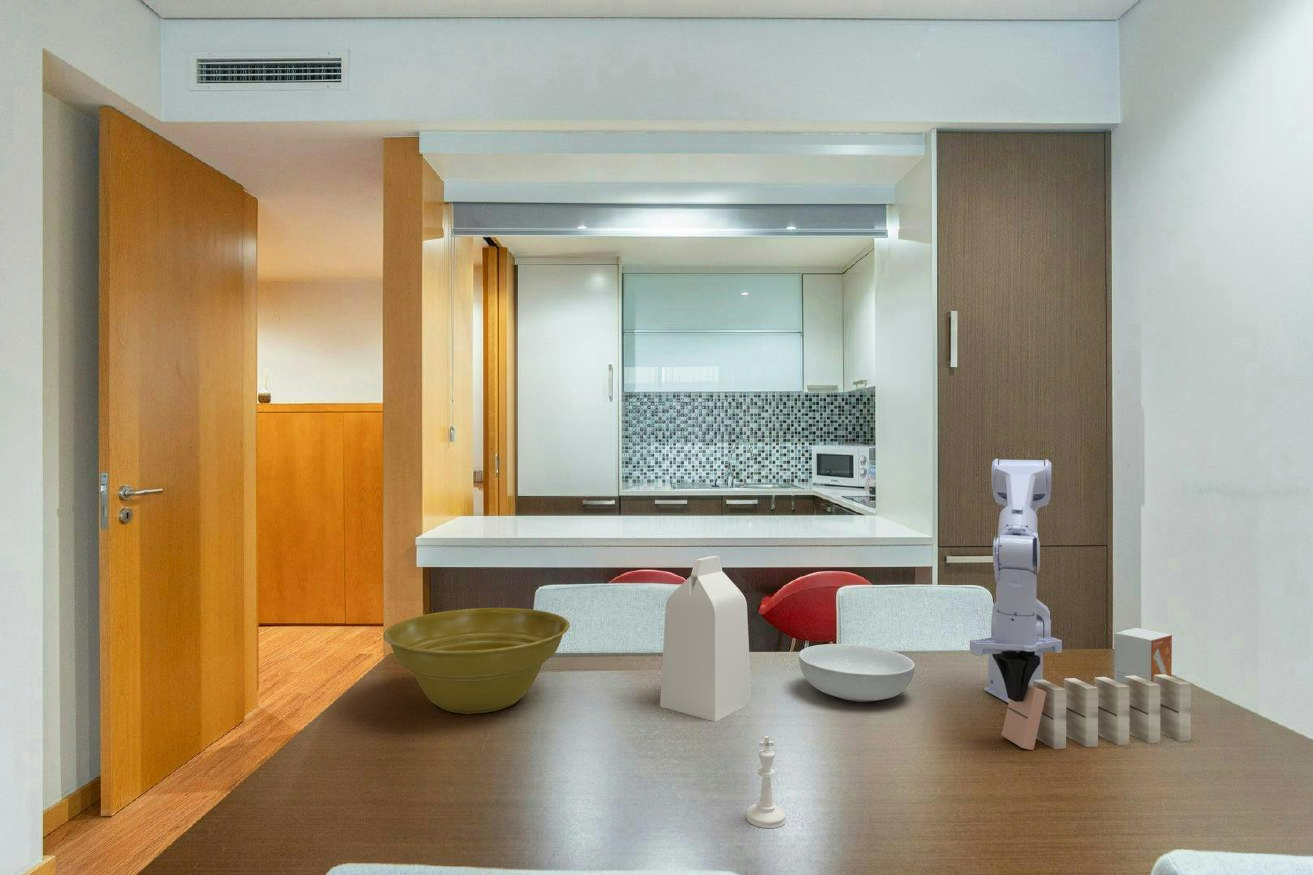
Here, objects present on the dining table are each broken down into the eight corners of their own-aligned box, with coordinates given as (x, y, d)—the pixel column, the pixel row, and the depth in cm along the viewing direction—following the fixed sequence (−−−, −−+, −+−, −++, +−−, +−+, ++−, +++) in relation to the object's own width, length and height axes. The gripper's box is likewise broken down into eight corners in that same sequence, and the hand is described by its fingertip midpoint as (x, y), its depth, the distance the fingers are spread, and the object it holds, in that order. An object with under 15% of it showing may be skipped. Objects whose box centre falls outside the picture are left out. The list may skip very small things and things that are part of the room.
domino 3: (1094, 732, 122) (1094, 677, 122) (1105, 732, 122) (1105, 676, 122) (1117, 745, 117) (1117, 687, 117) (1129, 744, 117) (1129, 686, 117)
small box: (1151, 715, 130) (1151, 639, 130) (1112, 704, 135) (1113, 632, 136) (1172, 706, 135) (1172, 634, 135) (1134, 696, 140) (1134, 626, 140)
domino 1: (1032, 736, 120) (1032, 679, 120) (1044, 735, 120) (1044, 679, 120) (1054, 748, 115) (1054, 690, 115) (1066, 748, 115) (1066, 689, 115)
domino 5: (1153, 729, 123) (1153, 674, 124) (1164, 728, 124) (1164, 674, 124) (1179, 741, 118) (1179, 684, 119) (1190, 740, 119) (1190, 683, 119)
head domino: (1001, 735, 119) (1014, 679, 119) (1012, 737, 119) (1025, 681, 120) (1021, 747, 114) (1034, 689, 114) (1033, 750, 114) (1046, 692, 115)
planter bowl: (341, 724, 122) (342, 641, 122) (443, 668, 153) (443, 602, 153) (525, 745, 114) (526, 656, 114) (592, 681, 145) (593, 612, 146)
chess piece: (742, 809, 95) (743, 729, 95) (780, 808, 95) (781, 728, 95) (750, 828, 90) (751, 745, 90) (790, 827, 90) (791, 744, 90)
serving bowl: (931, 715, 129) (931, 675, 129) (809, 712, 130) (809, 672, 130) (895, 678, 150) (895, 643, 150) (790, 676, 150) (790, 641, 151)
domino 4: (1124, 731, 123) (1124, 676, 123) (1135, 730, 123) (1135, 675, 123) (1148, 743, 118) (1149, 685, 118) (1160, 742, 118) (1160, 685, 118)
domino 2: (1063, 734, 121) (1063, 678, 121) (1074, 734, 121) (1075, 678, 121) (1086, 747, 116) (1086, 688, 116) (1097, 746, 116) (1098, 688, 116)
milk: (715, 721, 125) (716, 565, 125) (659, 706, 132) (661, 558, 132) (751, 702, 134) (752, 557, 135) (698, 689, 141) (699, 551, 142)
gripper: (988, 619, 112) (988, 710, 112) (1076, 616, 114) (1075, 706, 114) (962, 608, 119) (961, 694, 119) (1044, 606, 121) (1044, 691, 121)
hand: (1015, 699), depth 117 cm, fingers closed
